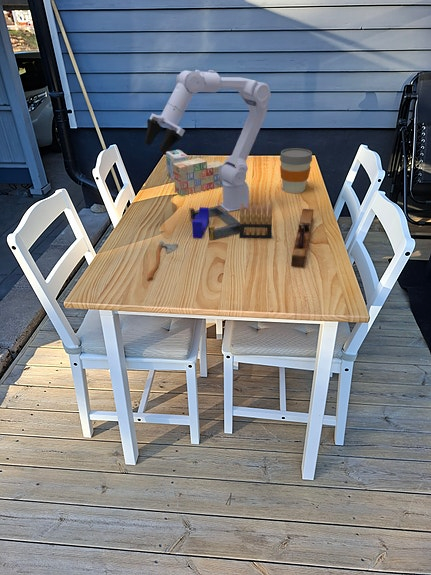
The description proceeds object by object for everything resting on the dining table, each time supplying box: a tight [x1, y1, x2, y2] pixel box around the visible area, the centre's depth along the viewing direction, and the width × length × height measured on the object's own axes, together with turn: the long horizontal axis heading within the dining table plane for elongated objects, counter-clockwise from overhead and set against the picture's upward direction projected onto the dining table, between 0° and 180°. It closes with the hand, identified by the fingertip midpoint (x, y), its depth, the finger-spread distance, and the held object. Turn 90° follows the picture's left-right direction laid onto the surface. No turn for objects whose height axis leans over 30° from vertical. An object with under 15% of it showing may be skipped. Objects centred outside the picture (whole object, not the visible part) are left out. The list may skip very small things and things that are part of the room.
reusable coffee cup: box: [279, 147, 313, 194], centre depth 171 cm, size 13×13×15 cm
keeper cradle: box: [188, 205, 240, 241], centre depth 147 cm, size 12×18×4 cm, turn 26°
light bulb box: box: [165, 149, 189, 181], centre depth 188 cm, size 11×7×11 cm, turn 25°
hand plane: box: [290, 208, 314, 269], centre depth 135 cm, size 34×5×10 cm, turn 168°
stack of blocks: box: [173, 157, 224, 197], centre depth 175 cm, size 21×6×12 cm, turn 121°
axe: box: [147, 240, 179, 282], centre depth 129 cm, size 22×6×2 cm, turn 177°
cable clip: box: [191, 206, 210, 239], centre depth 145 cm, size 12×4×6 cm, turn 169°
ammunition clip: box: [238, 202, 273, 240], centre depth 138 cm, size 11×2×12 cm, turn 85°
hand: (154, 148), depth 135 cm, fingers open, 7 cm apart
